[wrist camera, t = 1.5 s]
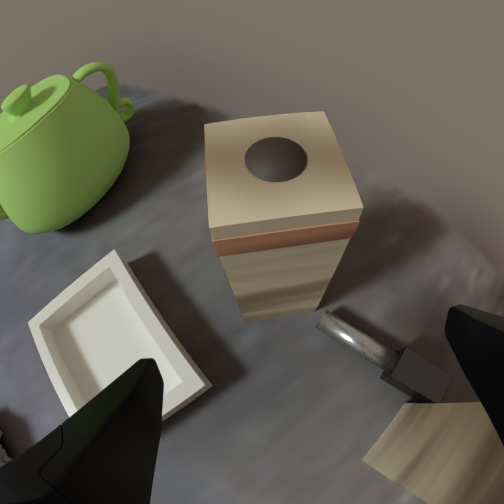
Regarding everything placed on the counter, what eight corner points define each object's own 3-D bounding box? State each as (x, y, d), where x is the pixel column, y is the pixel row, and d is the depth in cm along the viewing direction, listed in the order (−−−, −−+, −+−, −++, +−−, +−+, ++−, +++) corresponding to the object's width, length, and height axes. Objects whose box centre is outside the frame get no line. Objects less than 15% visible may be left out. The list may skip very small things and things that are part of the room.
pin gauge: (437, 378, 18) (452, 375, 16) (424, 404, 17) (439, 404, 15) (326, 309, 21) (332, 300, 19) (310, 335, 20) (314, 328, 18)
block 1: (315, 311, 21) (365, 208, 9) (244, 322, 21) (207, 228, 9) (302, 247, 23) (324, 109, 12) (236, 257, 23) (202, 123, 12)
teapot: (21, 305, 23) (-79, 244, 11) (-8, 221, 28) (-71, 161, 16) (181, 153, 29) (143, 38, 17) (115, 108, 34) (80, 27, 22)
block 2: (447, 433, 16) (578, 438, 4) (408, 487, 15) (520, 543, 3) (404, 402, 18) (536, 395, 6) (361, 459, 16) (463, 523, 4)
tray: (212, 385, 19) (205, 385, 17) (111, 454, 17) (94, 459, 15) (127, 262, 24) (114, 249, 22) (45, 329, 21) (28, 322, 19)
